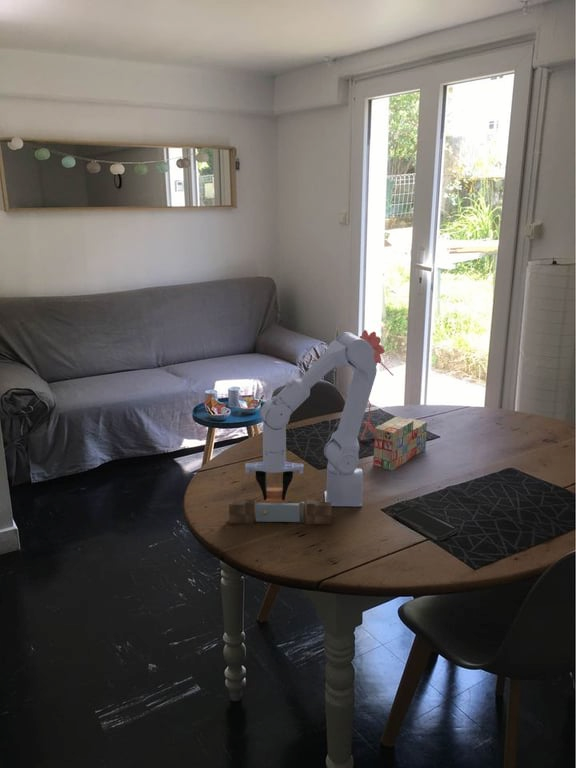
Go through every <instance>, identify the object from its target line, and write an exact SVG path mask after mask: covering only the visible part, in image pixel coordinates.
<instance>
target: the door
mask: <svg viewBox="0 0 576 768" xmlns="http://www.w3.org/2000/svg"><path fill="white" fill-rule="evenodd" d="M254 520H255V522H269V523H270V522H272V523H274V522H277V523H278V522H281V523H282V522H284V523H292V522H293V523H305V522H306V502H305V501H300V502H299V503H297V502H296V503H295V502H294V503H293V502H292V503H291V502H290V503H289V502H283V503H266V502H254Z"/></svg>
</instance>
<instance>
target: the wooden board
mask: <svg viewBox="0 0 576 768" xmlns="http://www.w3.org/2000/svg"><path fill="white" fill-rule="evenodd" d="M332 507H333V506H332V505H331V502H325V501H324V502H323V501H316V500H315V499H306V525H332V509H333V508H332ZM228 518H229V519H228V520H229V521H228V523H229V524H255V499H253V498H251V499H250V498H246V499H245V500H244V501H242V500H229V502H228Z"/></svg>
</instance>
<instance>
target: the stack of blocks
mask: <svg viewBox="0 0 576 768" xmlns="http://www.w3.org/2000/svg"><path fill="white" fill-rule="evenodd" d="M427 425H428V423H427V421H424V420H419V419H416V418H415V419H414V418H410V417H409V418H403V417H399V416H395V417H393V418H391V419H389V420H387V421H385V422H384V423H382V424H379V425H377V426H376V427H374V429H375V435H374V439H373V464H372V465H373V466H374V467H378V468H381V469H384V470H388V471H393V470H395V469H396V468H398V467H400V466H401V465H403V464H404V463H406V462H407V461H409V460H410V459H412V458H413V457H415V456H416V455H418V454H420V453H421V452H423V451H425V450H426V448H427V447H426V445H427Z"/></svg>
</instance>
